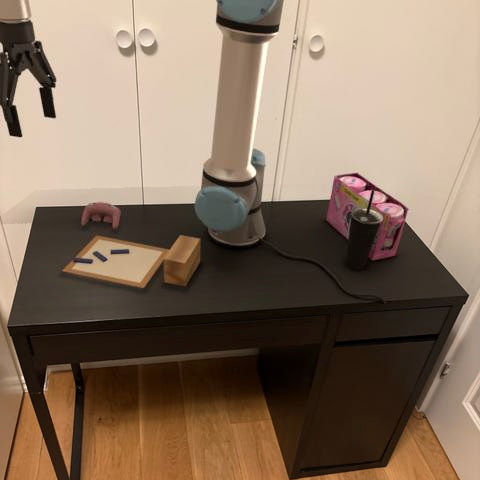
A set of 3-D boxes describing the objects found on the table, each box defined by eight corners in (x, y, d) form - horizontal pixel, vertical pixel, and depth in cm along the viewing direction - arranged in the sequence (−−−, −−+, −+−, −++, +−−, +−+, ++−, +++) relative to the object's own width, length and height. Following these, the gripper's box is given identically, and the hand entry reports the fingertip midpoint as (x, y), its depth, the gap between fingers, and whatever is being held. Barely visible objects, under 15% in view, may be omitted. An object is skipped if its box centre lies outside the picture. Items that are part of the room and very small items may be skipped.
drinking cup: (372, 260, 130) (391, 187, 117) (368, 276, 124) (388, 201, 112) (342, 253, 132) (358, 181, 119) (337, 268, 126) (353, 194, 113)
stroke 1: (93, 261, 120) (92, 259, 120) (91, 264, 119) (91, 261, 119) (74, 259, 120) (74, 257, 120) (73, 262, 119) (72, 260, 119)
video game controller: (121, 230, 137) (122, 204, 135) (116, 231, 132) (117, 204, 131) (85, 227, 137) (86, 200, 136) (79, 227, 133) (80, 200, 131)
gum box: (399, 258, 132) (414, 211, 123) (374, 264, 129) (387, 216, 120) (347, 216, 148) (357, 171, 139) (324, 220, 145) (333, 175, 137)
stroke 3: (129, 251, 124) (129, 248, 124) (129, 253, 124) (129, 251, 123) (110, 251, 124) (110, 249, 123) (110, 254, 123) (110, 252, 122)
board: (170, 253, 127) (170, 249, 126) (144, 292, 114) (143, 287, 113) (96, 239, 130) (96, 235, 129) (62, 275, 117) (61, 270, 116)
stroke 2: (107, 260, 121) (107, 258, 120) (103, 262, 120) (102, 260, 120) (97, 252, 123) (96, 250, 123) (92, 254, 122) (92, 252, 122)
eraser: (200, 265, 124) (200, 238, 119) (185, 290, 115) (184, 263, 110) (180, 261, 124) (180, 234, 120) (164, 286, 116) (163, 258, 111)
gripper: (31, 8, 112) (49, 108, 126) (-47, 27, 94) (-16, 142, 107) (61, 12, 111) (76, 112, 124) (-11, 32, 92) (15, 147, 106)
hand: (34, 126), depth 116 cm, fingers open, 13 cm apart
